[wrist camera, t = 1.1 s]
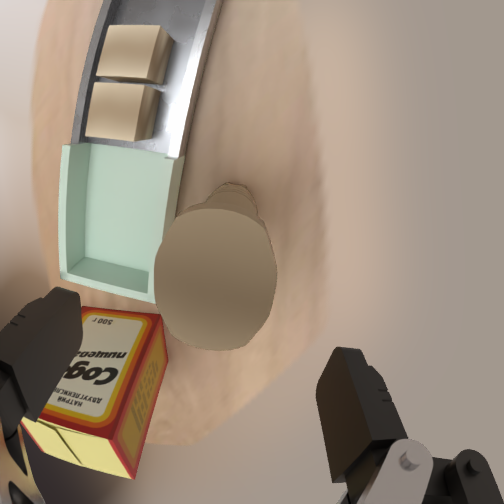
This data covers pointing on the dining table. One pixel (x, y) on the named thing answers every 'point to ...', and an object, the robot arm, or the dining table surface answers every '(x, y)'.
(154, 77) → the birch block
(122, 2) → the metal chute
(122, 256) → the chip tray
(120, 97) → the birch block
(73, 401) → the baking soda box
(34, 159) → the dining table surface
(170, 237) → the handle
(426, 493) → the robot arm
